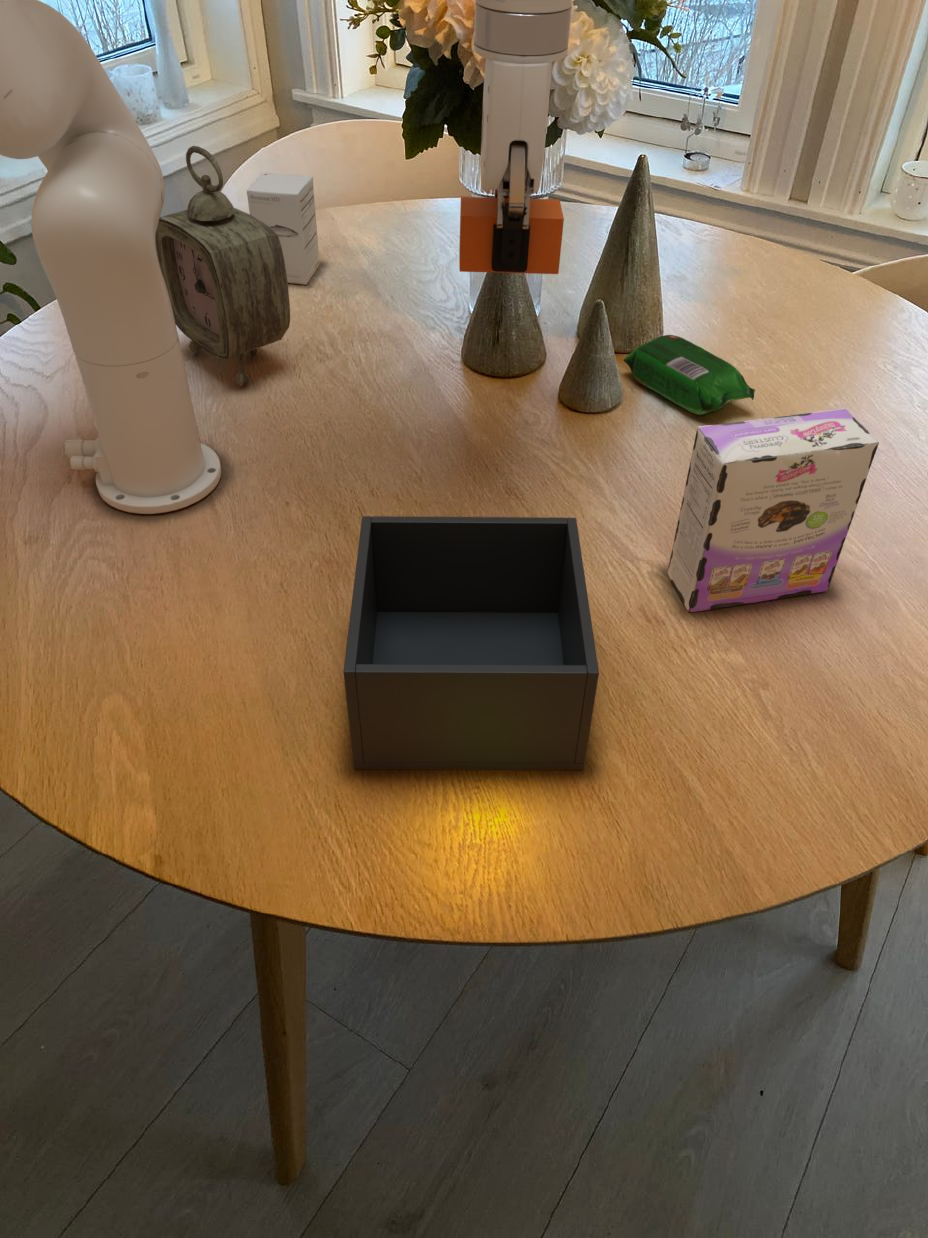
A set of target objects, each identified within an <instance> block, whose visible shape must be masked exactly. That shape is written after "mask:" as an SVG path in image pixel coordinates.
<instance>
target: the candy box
mask: <svg viewBox="0 0 928 1238" xmlns="http://www.w3.org/2000/svg"><path fill="white" fill-rule="evenodd" d="M879 444H880V441H879V440H878V439H877V438H875V437H874V436H873V435H872V434H871V432H870V431H869V430H867V428H866V427H865V426H863V424H861V423H860V422H859V421H858V420H857V419H856V418H855V417H854V416H853V415H852V414H851V412H849V410H848V409H846V408H845V407H842V408H837V409H836V408H835V409H829V410H820V411H813V412H806V413H805V412H804V413H799V414H791V415H783V416H782V415H781V416H776V417H775V416H773V417H766V418H759V419H750V420H749V419H748V420H743V421H735V422H733V421H732V422H726V423H717V424H708V425H698V426H697V427H696V433H695V437H694V441H693V447H692V452H691V455H690V456H691V457H690V462H689V466H688V471H687V474H686V475H687V476H686V480H685V486H684V490H683V495H682V499H681V504H680V505H681V506H680V510H679V515H678V520H677V524H676V528H675V533H674V540H673V543H672V548H671V553H670V557H669V563H668V568H667V573H666V574H667V576H668V579H669V580H670V582H671V584H672V585H673V587H674V588H675V591H676V592H677V594H678V596H679V598H680V600H681V602H682V604H683V606H684V607H685V609H686V611H687V612H691V613H695V612H703V611H709V610H715V609H720V608H728V607H735V606H740V605H745V604H754V603H761V602H766V601H770V600H771V601H772V600H779V599H784V598H791V597H797V596H802V595H803V596H805V595H810V594H816V593H823V592H827V591H828V590H829V588H830V585H831V582H832V579H833V576H834V573H835V570H836V567H837V565H838V563H839V559H840V556H841V554H842V550H843V547H844V543H845V541H846V538H847V536H848V533H849V531H850V527H851V525H852V523H853V522H852V521H853V519H854V516H855V513H856V510H857V508H858V504H859V501H860V499H861V496H862V493H863V490H864V487H865V484H866V481H867V478H868V475H869V472H870V469H871V466H872V464H873V461H874V458H875V456H876V453H877V450H878V447H879Z"/></svg>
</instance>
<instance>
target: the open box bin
mask: <svg viewBox="0 0 928 1238" xmlns="http://www.w3.org/2000/svg"><path fill="white" fill-rule="evenodd" d="M581 548H582V547H581V541H580V535H579V527H578V519H577V518H576V517H550V516H549V517H543V516H542V517H538V516H536V517H534V516H533V517H531V516H530V517H529V516H528V517H527V516H526V517H525V516H524V517H523V516H395V515H394V516H389V515H388V516H386V515H382V516H379V515H378V516H377V515H372V516H371V515H367V516H366V515H362V517H361V522H360V530H359V539H358V548H357V554H356V564H355V570H354V571H355V572H354V581H353V589H352V598H351V606H350V614H349V623H348V630H347V639H346V646H345V647H346V648H345V656H344V663H343V664H344V665H343V672H342V673H343V681H344V690H345V699H346V708H347V709H346V710H347V717H348V726H349V727H348V729H349V735H350V744H351V745H350V746H351V754H352V763H353V769H354V770H464V771H465V770H467V771H469V770H472V771H473V770H475V771H476V770H477V771H478V770H480V771H482V770H483V771H484V770H486V771H489V770H491V771H495V770H497V771H499V770H500V771H501V770H502V771H503V770H505V771H508V770H509V771H510V770H511V771H512V770H513V771H518V770H519V771H522V770H523V771H551V770H552V771H584V770H585V766H586V758H587V752H588V745H589V740H590V733H591V727H592V720H593V714H594V709H595V708H594V707H595V701H596V696H597V688H598V683H599V675H600V670H599V664H598V663H599V662H598V656H597V650H596V642H595V636H594V630H593V623H592V616H591V615H592V614H591V610H590V609H591V608H590V603H589V594H588V589H587V582H586V576H585V575H586V574H585V568H584V561H583V556H582V549H581Z"/></svg>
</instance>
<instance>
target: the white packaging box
mask: <svg viewBox="0 0 928 1238" xmlns="http://www.w3.org/2000/svg"><path fill="white" fill-rule="evenodd" d="M246 196H247V204H248V211H249V214H250V215H252V216H253V217H255V218H257V219H258V220H260V221H262V222H263V223H265V224H266V225H268V226H269V227H271V228H272V229H273V230H274V232H275V233H276V234H277V235H278V237H279V240H280V243H281V247H282V251H283V256H284V262H285V268H286V275H287V282H288V284H298V285H303V286H305V285H308V283H309V282H310V280H311V279H312V277H313V276H314V274H315V273H316V271H317V269H318V268H319V266H320V253H319V238H318V227H317V226H318V225H317V216H316V215H317V213H316V204H315V203H316V202H315V192H314V177H313V176H312V175H311V176H310V175H297V174H285V173H271V172H261V174H259V175H258V176H257V178H255V180H254V181H253V182H252V183H251V184H250V186H249V187H248V188H247V189H246Z"/></svg>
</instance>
